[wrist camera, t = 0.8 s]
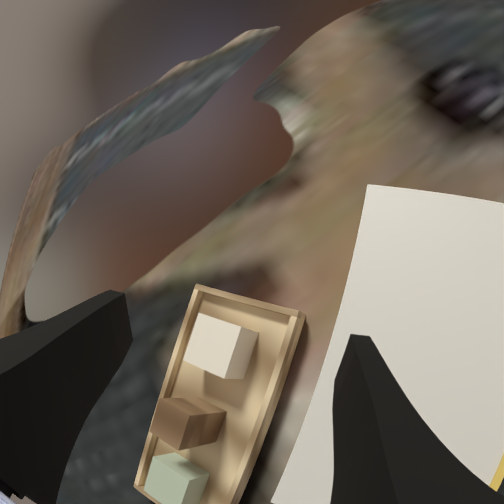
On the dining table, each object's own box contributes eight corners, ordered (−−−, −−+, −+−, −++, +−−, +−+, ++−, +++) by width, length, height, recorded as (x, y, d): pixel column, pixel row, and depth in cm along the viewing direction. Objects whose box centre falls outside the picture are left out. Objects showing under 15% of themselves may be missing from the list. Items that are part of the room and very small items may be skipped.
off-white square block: (243, 379, 24) (224, 378, 22) (204, 363, 26) (182, 360, 24) (258, 332, 25) (241, 326, 22) (218, 319, 27) (198, 312, 24)
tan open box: (230, 531, 20) (184, 558, 15) (152, 482, 26) (101, 492, 20) (309, 317, 26) (278, 297, 20) (212, 291, 31) (165, 268, 25)
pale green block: (198, 505, 21) (177, 514, 18) (165, 484, 23) (143, 490, 20) (210, 473, 22) (189, 480, 19) (175, 452, 24) (152, 456, 21)
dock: (459, 535, 12) (463, 550, 10) (282, 492, 20) (269, 502, 18) (538, 226, 18) (549, 211, 16) (371, 199, 26) (367, 183, 24)
